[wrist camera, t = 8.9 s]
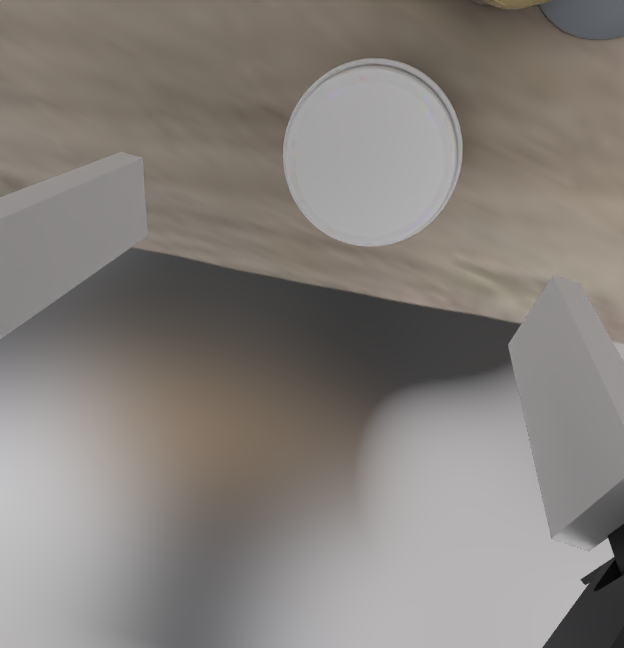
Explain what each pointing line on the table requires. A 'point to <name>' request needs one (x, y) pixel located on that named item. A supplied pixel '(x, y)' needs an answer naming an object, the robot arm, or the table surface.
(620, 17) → the disc
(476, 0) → the post
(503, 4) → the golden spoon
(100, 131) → the table surface
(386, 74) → the coffee cup
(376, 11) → the table surface
